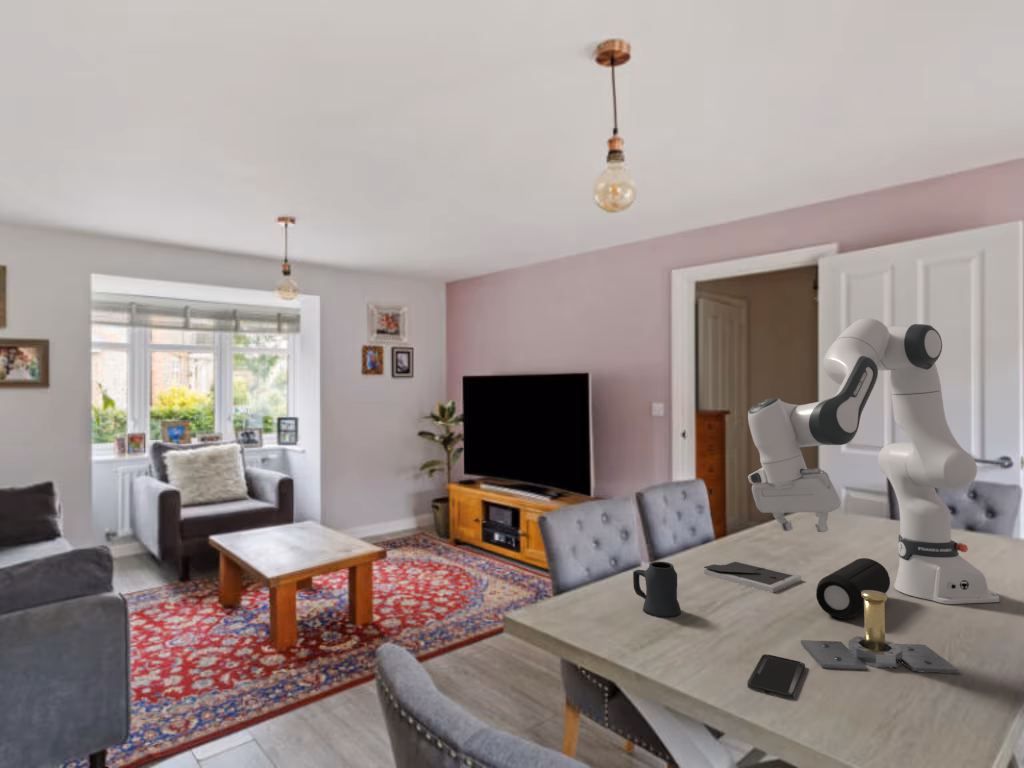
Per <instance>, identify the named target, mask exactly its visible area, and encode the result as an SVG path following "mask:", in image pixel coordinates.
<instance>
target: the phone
mask: <svg viewBox="0 0 1024 768" xmlns="http://www.w3.org/2000/svg"><path fill="white" fill-rule="evenodd" d="M804 670H806V663H804V662H802V661H799V660H795V659H790V658H785V657H783V656H782V657H781V656H777V655H772V654H765V653H764V654H762V655H761V656H760V658H759V660H758V662H757V664H756V666H755V667H754V669H753V670H752V672H751V674H750V676H749V678H748V679H747V688H748V689H749V690H751V691H755V692H759V693H763V694H767V695H770V696H774V697H778V698H781V699H786V700H792V699H795V696H796V694H797V691H798V688H799V685H800V683H801V681H802V679H803V675H804V674H805V671H804Z"/></svg>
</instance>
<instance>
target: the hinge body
mask: <svg viewBox="0 0 1024 768" xmlns="http://www.w3.org/2000/svg"><path fill="white" fill-rule="evenodd" d="M801 644H802V645H801ZM800 645H801V646H802V647H803V649H805V650H806V651H807V653H808V654H809V655H810V656H811V658H813V660H814V659H815V660H814V661H815V662H816V663H817V664H818V665H819V666H821V667H822V669H833V668H836V670H837V669H838V670H842V669H843V670H857V669H861V670H863V671H866V670H867V669H866V668H867V667H866V665H868V666H870V665H871V666H870V667H873V666H874V668H878V667H897V666H898V665H899V666H900V665H902V664H903V663H904V664H905V665H904V664H903V665H904V666H906V667H907V666H908V667H909V668H910V669H911V670H912V671H911V670H910V669H909V668H908V667H907V668H908V669H909V670H910V671H911V672H913V671H924V672H923V673H928V672H940V673H939V674H951V673H955V674H956V675H957V674H959V668H957V667H956V666H954V665H953V664H952V663H951V662H949V661H947V660H946V659H945V658H944V657H942V656H941V655H939V654H938V653H937V652H935V651H934V650H932V648H930V647H928V646H927V645H926V644H917V643H916V644H915V643H914V644H913V643H894V642H892V641H889V640H886V639H885V652H883V651H873V650H870V649H867V648H865V636H854V637H853V638H850V640H848V647H847V646H846V645H845V644H844V643H843V642H842V641H833V640H806V639H805V640H804V639H801V640H800ZM902 662H903V663H902ZM864 663H865V664H864ZM901 663H902V664H901ZM899 666H898V667H899ZM821 667H820V668H821ZM898 667H897V668H898ZM955 674H954V675H955Z"/></svg>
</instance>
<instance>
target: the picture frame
mask: <svg viewBox="0 0 1024 768" xmlns="http://www.w3.org/2000/svg"><path fill="white" fill-rule="evenodd" d="M704 574H706V575H705V576H708V575H709V576H708V577H711V576H713V577H712V578H715V577H716V579H719V578H720V580H723V579H724V581H726V580H728V581H727V582H730V581H731V583H734V584H737V583H739V584H738V585H741V584H742V585H741V586H745V585H746V586H745V587H748V586H750V587H749V588H752V587H754V588H753V589H756V588H758V589H757V590H760V589H761V590H760V591H763V590H765V591H764V592H767V591H769V592H768V593H771V592H774V593H776V592H775V591H777V590H779V591H780V589H781V590H783V589H782V588H784V587H786V588H788V587H790V586H793V585H795V584H797V583H800V582H801V581H802V575H800V574H796V573H792V572H787V571H783V570H779V569H774V568H771V567H766V566H762V565H759V564H758V565H757V564H753V563H749V562H745V561H740V560H738V559H731V560H728V561H725V562H723V563H720V564H710V565H706V566H704V567H703V575H704ZM799 581H800V582H799ZM794 583H795V584H794ZM792 584H793V585H792ZM789 585H790V586H789ZM787 586H788V587H787ZM784 589H785V588H784ZM777 592H778V591H777Z"/></svg>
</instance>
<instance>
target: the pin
mask: <svg viewBox="0 0 1024 768" xmlns="http://www.w3.org/2000/svg"><path fill="white" fill-rule="evenodd" d="M861 596H862V597H863V598H864V609H863V615H864V617H863V618H864V619H863V621H864V637H865V648H867V649H870V650H873V651H883V652H885V640H886V630H885V629H886V624H885V623H886V619H885V618H886V617H885V613H886V612H885V610H886V609H885V607H886V606H885V602H886V601H888V595H887V594H886V593H882V592H879V591H874V590H864V591H862V592H861Z"/></svg>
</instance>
